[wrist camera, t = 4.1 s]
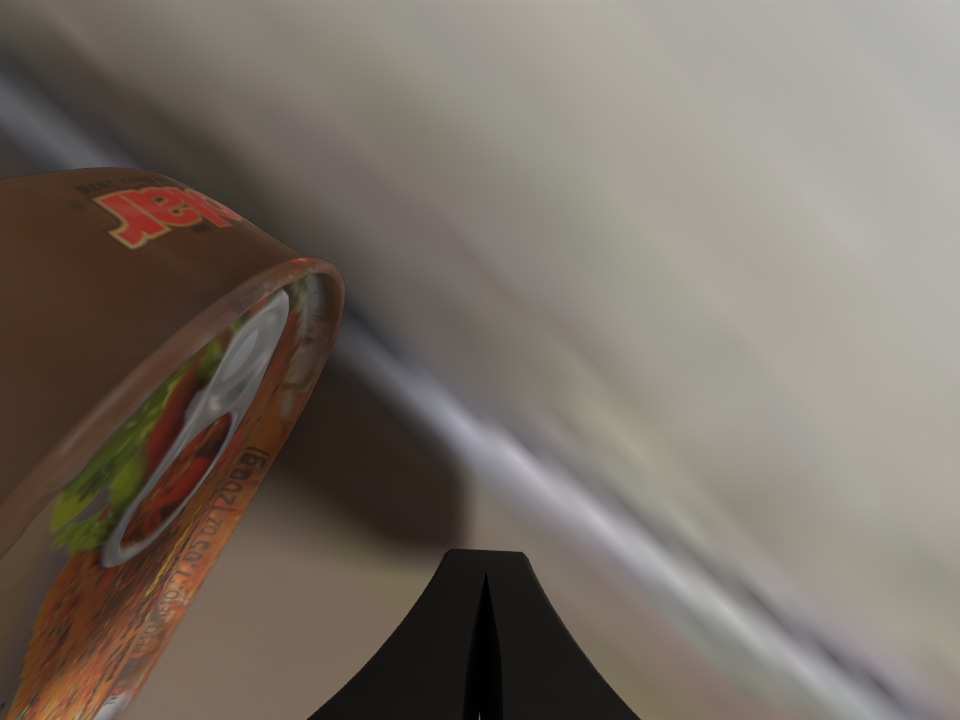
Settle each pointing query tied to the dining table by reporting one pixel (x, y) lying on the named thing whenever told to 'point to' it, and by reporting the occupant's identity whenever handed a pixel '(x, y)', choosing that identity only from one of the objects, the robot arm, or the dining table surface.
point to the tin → (133, 417)
